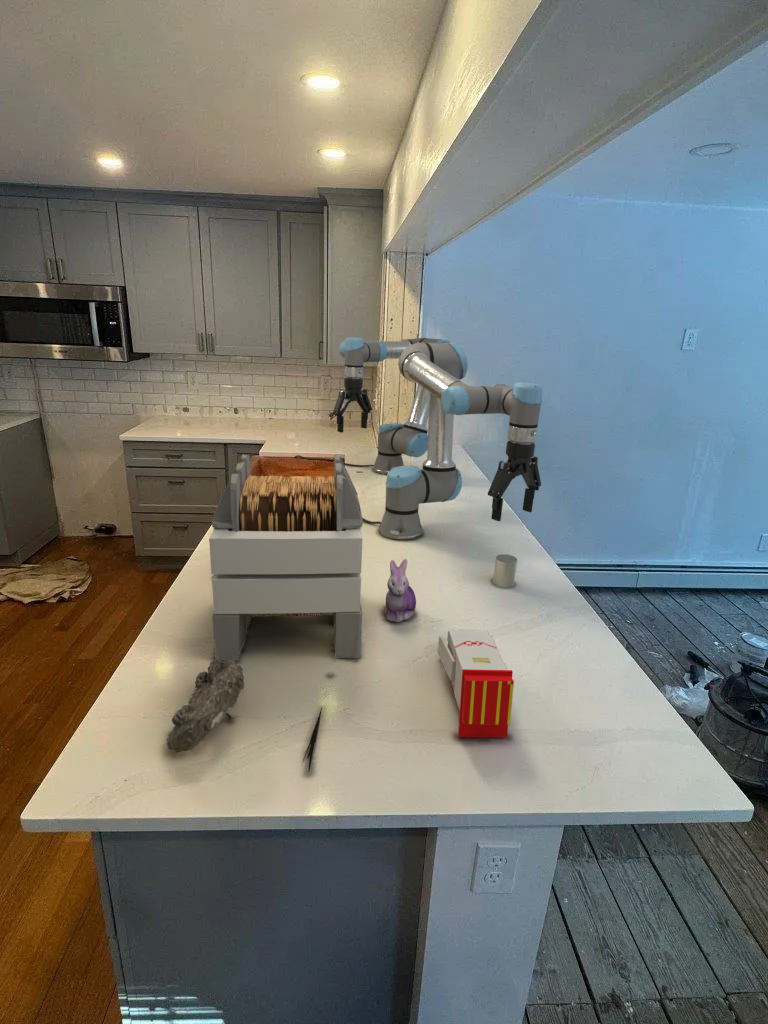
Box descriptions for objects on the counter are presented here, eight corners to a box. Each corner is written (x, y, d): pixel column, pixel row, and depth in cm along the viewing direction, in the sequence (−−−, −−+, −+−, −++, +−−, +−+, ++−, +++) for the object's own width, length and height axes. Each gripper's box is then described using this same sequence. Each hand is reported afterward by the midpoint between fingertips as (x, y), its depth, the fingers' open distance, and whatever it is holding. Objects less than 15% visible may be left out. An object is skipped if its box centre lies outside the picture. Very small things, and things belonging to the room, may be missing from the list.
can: (488, 580, 168) (491, 556, 165) (503, 576, 171) (506, 552, 169) (503, 589, 163) (506, 564, 161) (518, 584, 166) (521, 560, 164)
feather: (331, 679, 122) (336, 673, 122) (307, 777, 96) (313, 769, 95) (324, 675, 122) (329, 669, 121) (298, 772, 95) (304, 764, 95)
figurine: (392, 627, 141) (395, 572, 136) (374, 608, 149) (376, 556, 144) (425, 619, 145) (429, 566, 140) (405, 601, 154) (408, 550, 149)
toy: (488, 613, 130) (523, 677, 101) (484, 667, 133) (517, 744, 104) (435, 612, 130) (455, 676, 101) (432, 666, 133) (451, 743, 103)
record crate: (234, 590, 156) (226, 444, 142) (353, 588, 159) (357, 447, 146) (212, 662, 124) (200, 485, 110) (361, 659, 128) (367, 486, 114)
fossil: (192, 660, 117) (244, 628, 112) (224, 691, 120) (276, 661, 115) (142, 746, 98) (202, 712, 93) (182, 779, 101) (242, 748, 96)
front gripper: (501, 449, 143) (492, 528, 150) (560, 439, 158) (549, 511, 165) (479, 443, 148) (471, 519, 155) (538, 434, 163) (528, 503, 170)
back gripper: (337, 380, 217) (336, 435, 224) (381, 377, 234) (379, 427, 242) (324, 378, 222) (323, 432, 229) (368, 375, 239) (366, 424, 246)
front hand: (511, 515), depth 160 cm, fingers open, 13 cm apart
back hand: (352, 430), depth 235 cm, fingers open, 13 cm apart
